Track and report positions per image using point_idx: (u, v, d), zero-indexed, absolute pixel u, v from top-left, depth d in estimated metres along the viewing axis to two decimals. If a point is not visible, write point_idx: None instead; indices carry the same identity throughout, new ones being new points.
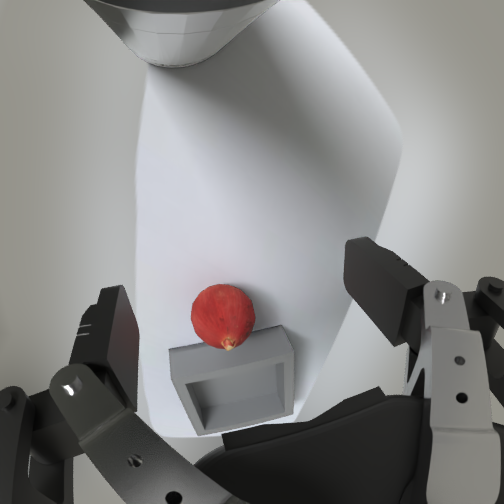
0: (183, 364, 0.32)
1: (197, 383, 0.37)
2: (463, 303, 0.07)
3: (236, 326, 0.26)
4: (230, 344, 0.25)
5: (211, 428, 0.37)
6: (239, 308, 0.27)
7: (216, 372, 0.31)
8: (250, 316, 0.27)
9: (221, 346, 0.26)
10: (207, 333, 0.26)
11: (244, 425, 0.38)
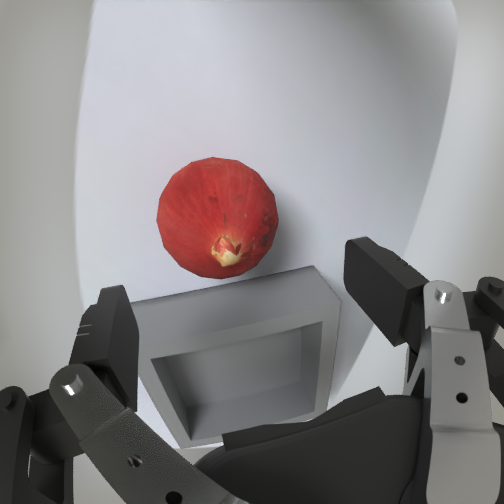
0: (149, 325, 0.18)
1: (178, 365, 0.23)
2: (463, 303, 0.07)
3: (244, 215, 0.13)
4: (231, 248, 0.12)
5: (201, 437, 0.23)
6: (250, 184, 0.13)
7: (205, 337, 0.18)
8: (271, 208, 0.14)
9: (211, 263, 0.13)
10: (182, 234, 0.13)
11: None
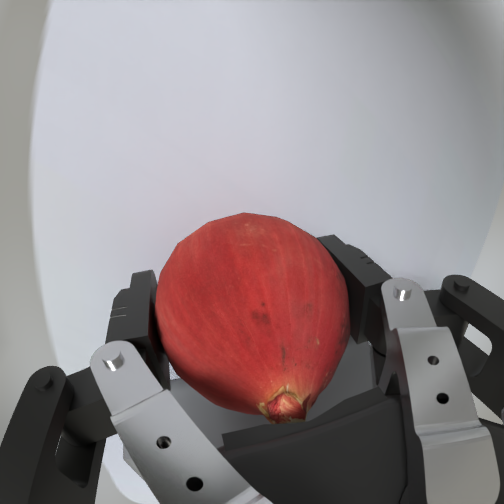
0: None
1: None
2: (422, 301, 0.07)
3: (316, 342, 0.07)
4: (298, 413, 0.06)
5: None
6: (320, 275, 0.07)
7: None
8: (346, 307, 0.08)
9: (254, 411, 0.07)
10: (203, 371, 0.07)
11: None
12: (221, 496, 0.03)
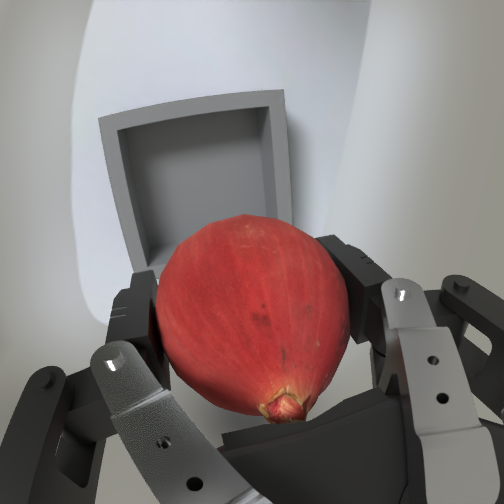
0: None
1: (144, 182, 0.25)
2: (422, 301, 0.07)
3: (316, 344, 0.07)
4: (298, 414, 0.06)
5: (158, 264, 0.24)
6: (320, 277, 0.07)
7: (165, 106, 0.19)
8: (346, 309, 0.08)
9: (254, 413, 0.07)
10: (203, 372, 0.07)
11: None
12: (221, 496, 0.03)
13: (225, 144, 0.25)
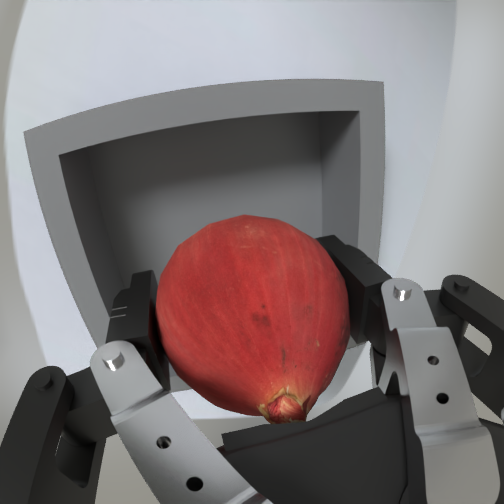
0: None
1: (124, 238, 0.14)
2: (422, 301, 0.07)
3: (316, 344, 0.07)
4: (298, 414, 0.06)
5: None
6: (321, 277, 0.07)
7: (155, 102, 0.09)
8: (346, 309, 0.08)
9: (254, 413, 0.07)
10: (204, 372, 0.07)
11: None
12: (221, 496, 0.03)
13: (265, 172, 0.15)
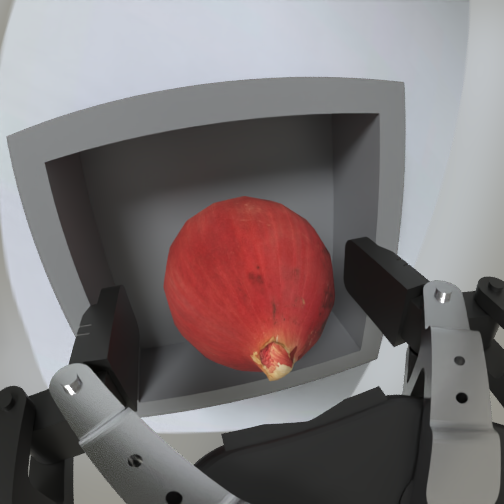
0: None
1: (121, 251, 0.13)
2: (463, 303, 0.07)
3: (302, 302, 0.08)
4: (285, 360, 0.07)
5: (158, 397, 0.13)
6: (307, 247, 0.09)
7: (152, 102, 0.08)
8: (330, 278, 0.10)
9: (249, 365, 0.09)
10: (206, 326, 0.08)
11: (252, 393, 0.14)
12: None
13: (273, 178, 0.14)
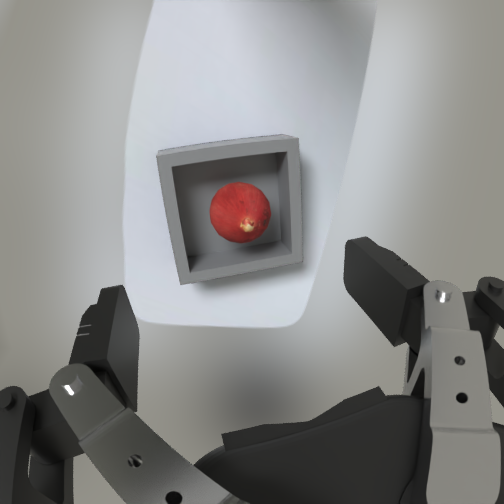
0: (172, 151, 0.28)
1: (186, 205, 0.33)
2: (463, 303, 0.07)
3: (255, 210, 0.27)
4: (250, 223, 0.27)
5: (198, 270, 0.32)
6: (258, 195, 0.28)
7: (209, 150, 0.27)
8: (267, 208, 0.29)
9: (239, 232, 0.28)
10: (226, 218, 0.28)
11: (241, 270, 0.33)
12: None
13: (251, 177, 0.33)
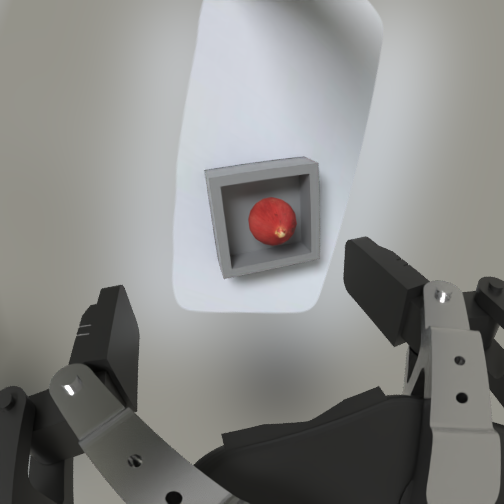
0: (219, 172, 0.36)
1: (227, 215, 0.41)
2: (463, 303, 0.07)
3: (286, 220, 0.36)
4: (283, 231, 0.35)
5: (238, 267, 0.41)
6: (287, 209, 0.37)
7: (250, 173, 0.35)
8: (294, 218, 0.37)
9: (274, 237, 0.36)
10: (264, 226, 0.36)
11: (271, 266, 0.42)
12: None
13: (278, 191, 0.41)
